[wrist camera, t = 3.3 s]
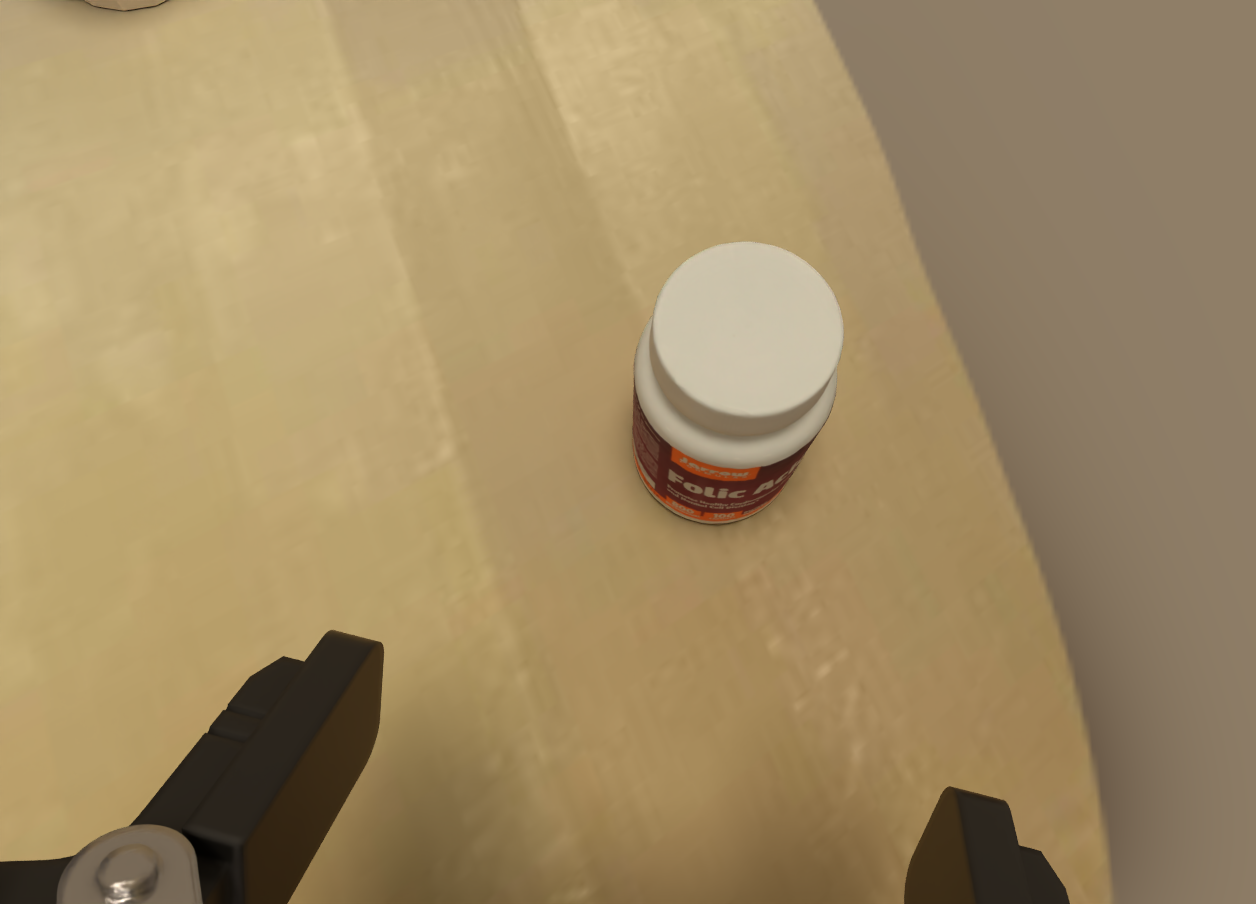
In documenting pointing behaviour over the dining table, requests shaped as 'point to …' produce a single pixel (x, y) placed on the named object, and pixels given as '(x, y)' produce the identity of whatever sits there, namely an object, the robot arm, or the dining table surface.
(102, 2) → the beige cup
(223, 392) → the dining table surface
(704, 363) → the pill bottle
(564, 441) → the dining table surface
